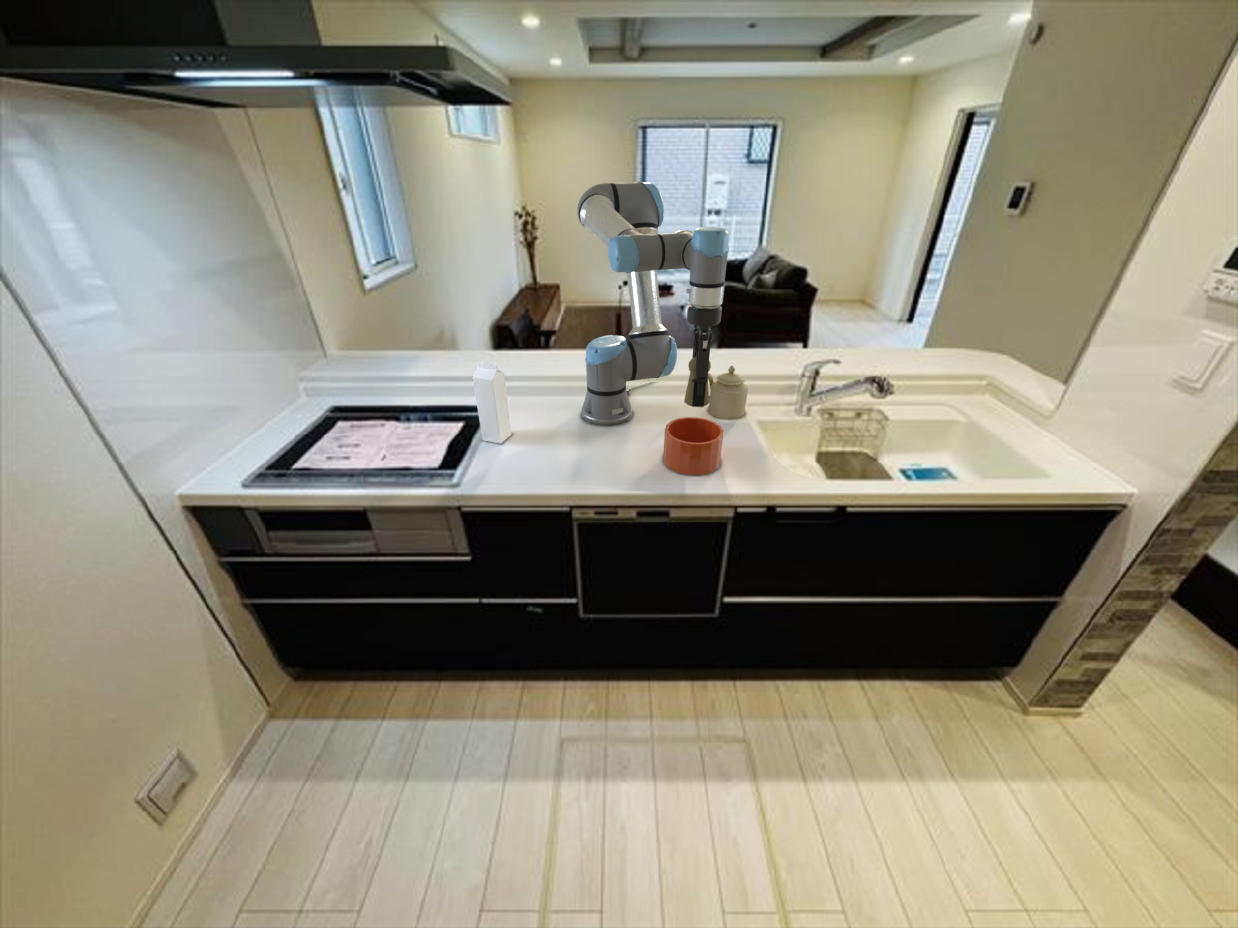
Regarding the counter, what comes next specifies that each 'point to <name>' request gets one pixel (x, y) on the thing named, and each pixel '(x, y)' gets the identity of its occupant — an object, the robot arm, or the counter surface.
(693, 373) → the cork
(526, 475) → the counter surface
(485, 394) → the milk
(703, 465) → the pot
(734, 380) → the beige ceramic rounded vessel
